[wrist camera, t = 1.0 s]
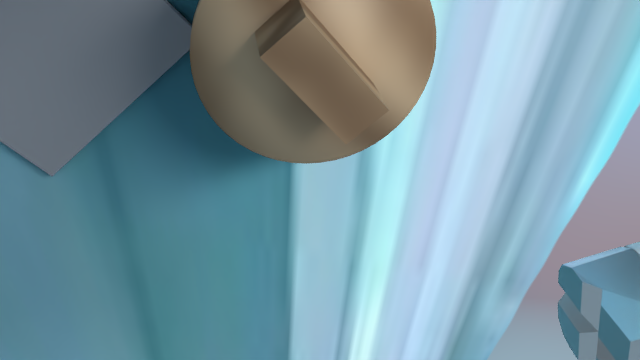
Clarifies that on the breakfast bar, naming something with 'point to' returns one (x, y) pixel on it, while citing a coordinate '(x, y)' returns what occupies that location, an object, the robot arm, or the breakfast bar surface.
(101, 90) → the charcoal mat
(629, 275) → the robot arm
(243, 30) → the walnut lid
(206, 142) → the breakfast bar surface
